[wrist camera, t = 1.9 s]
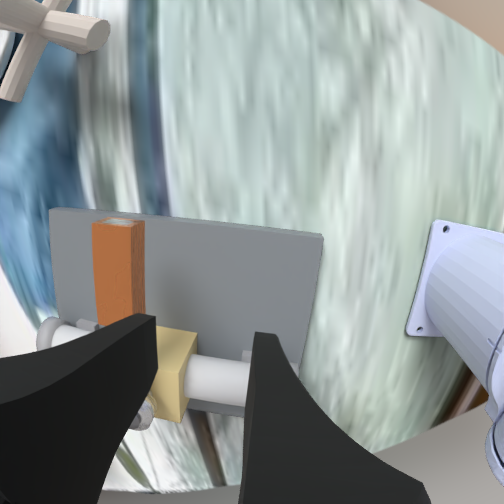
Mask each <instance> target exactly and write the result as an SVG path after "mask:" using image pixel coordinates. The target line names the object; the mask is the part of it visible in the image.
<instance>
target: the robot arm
mask: <svg viewBox="0 0 504 504" xmlns="http://www.w3.org/2000/svg"><path fill="white" fill-rule="evenodd" d="M444 226H447V230H446V231H445V232H443V228H444ZM418 327H421V328H420V330H418V331H417V328H418ZM406 332H407V333H408V334H409V335H411V336H433V337H445V338H446V339H447V341H448V342H449V343H450V344H451V346H452V347H453V348H454V349H455V351H456V352H457V353H458V354H459V356H460V357H461V358H462V359H463V361H464V362H465V363H466V364H467V366H468V367H469V368H470V370H471V371H472V372H473V374H474V375H475V376H476V378H477V379H478V380H479V381H480V383H481V384H482V386H483V387H484V388H485V390H486V391H487V392H488V394H489V399H488V402H487V404H486V406H485V411H486V412H487V414H488V415H489V417H490V418H491V420H492V421H493V423H494V424H493V425H492V427H491V428H490V430H489V432H488V434H487V437H486V442H485V452H486V458H487V461H488V464H489V467H490V468H491V470H492V472H493V474H494V476H495V477H496V478H497V480H498V481H499V482H500V483H501V485H502V486H503V487H504V233H500V232H496V231H491V230H487V229H482V228H478V227H473V226H468V225H464V224H459V223H454V222H449V221H444V220H435V221H434V222H433V223H432V226H431V230H430V235H429V240H428V245H427V250H426V254H425V259H424V263H423V267H422V271H421V275H420V279H419V283H418V287H417V291H416V295H415V298H414V302H413V305H412V309H411V312H410V315H409V319H408V322H407V325H406ZM157 371H158V354H157V334H156V316H152V315H147V314H142V313H136V314H133V315H130V316H128V317H126V318H123V319H121V320H119V321H116V322H114V323H112V324H110V325H107V326H105V327H103V328H101V329H98V330H96V331H94V332H91V333H89V334H87V335H84V336H81V337H79V338H76V339H74V340H71V341H68V342H66V343H63V344H60V345H57V346H54V347H51V348H47V349H44V350H40V351H36V352H32V353H28V354H22V355H17V356H11V357H5V358H0V504H97V502H98V499H99V496H100V493H101V490H102V487H103V484H104V481H105V478H106V476H107V473H108V470H109V468H110V465H111V463H112V460H113V458H114V455H115V453H116V451H117V449H118V447H119V445H120V443H121V441H122V439H123V437H124V436H125V434H126V432H127V430H128V429H129V427H130V425H131V423H132V422H133V420H134V418H135V416H136V415H137V413H138V411H139V409H140V408H141V406H142V404H143V402H144V401H145V399H146V397H147V395H148V393H149V391H150V389H151V386H152V384H153V381H154V379H155V376H156V373H157ZM238 504H431V501H430V498H429V496H428V494H427V492H426V490H425V487H424V485H423V483H422V482H420V481H418V480H416V479H414V478H412V477H410V476H408V475H406V474H404V473H403V472H401V471H399V470H397V469H395V468H393V467H392V466H390V465H388V464H386V463H385V462H383V461H382V460H380V459H379V458H377V457H376V456H374V455H373V454H371V453H370V452H368V451H367V450H366V449H364V448H363V447H362V446H360V445H359V444H358V443H356V442H355V441H354V440H353V439H352V438H350V437H349V436H348V435H347V434H346V433H345V432H344V431H342V430H341V429H340V428H339V427H338V426H337V425H336V424H335V423H334V422H333V421H332V420H331V419H330V418H329V417H328V416H327V415H326V414H325V413H324V412H323V411H322V409H321V408H320V407H319V406H318V405H317V403H316V402H315V401H314V400H313V398H312V397H311V396H310V394H309V393H308V392H307V390H306V389H305V387H304V386H303V384H302V383H301V381H300V380H299V378H298V377H297V375H296V373H295V372H294V370H293V368H292V366H291V365H290V363H289V361H288V359H287V357H286V355H285V353H284V351H283V349H282V346H281V344H280V341H279V338H278V336H277V335H276V334H272V333H264V332H256V331H255V334H254V340H253V347H252V355H251V363H250V371H249V379H248V387H247V395H246V403H245V412H244V440H243V469H242V481H241V488H240V495H239V501H238Z"/></svg>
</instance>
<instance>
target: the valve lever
mask: <svg viewBox="0 0 504 504" xmlns="http://www.w3.org/2000/svg"><path fill="white" fill-rule="evenodd" d="M92 255H93V273H94V287H95V298H96V308H97V317H98V324H100V325H104V326H107V325H110V324H112V323H114V322H116V321H119V320H121V319H123V318H126V317H128V316H130V315H133V314H136V313H142V314H146V307H145V221H144V220H134V219H124V218H114V217H107V218H104V219H101V220H99V221H96V222H93V223H92ZM156 412H157V403H156V401H155V399H154V398H153V396H152V395H151V394H150V393H148V395H147V397H146V399H145V401H144V402H143V404H142V406H141V408H140V409H139V411H138V413H137V415H136V416H135V418H134V420H133V422H132V423H131V425H130V427H129V429H133V430H138V431H141V430H146V429H147V428H149V426H150V424H151V422H152V420H153V418H154V416H155V414H156Z"/></svg>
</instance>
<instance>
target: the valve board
mask: <svg viewBox="0 0 504 504" xmlns="http://www.w3.org/2000/svg"><path fill="white" fill-rule="evenodd" d="M107 217H114V218H124V219H134V220H144V221H145V307H146V314H147V315H152V316H156V334H157V354H158V371H157V373H156V376H155V379H154V381H153V384H152V386H151V389H150V391H149V393H150V394H151V395H152V396H153V398H154V399H155V401H156V403H157V412H156V414H155V416H154V417H156V418H160V419H164V420H168V421H173V422H177V423H181V420H182V418H183V415H184V412H185V410H186V408H190V409H195V410H200V411H206V412H211V413H217V414H224V415H230V416H237V417H244V412H245V403H246V395H247V387H248V379H249V371H250V363H251V355H252V347H253V340H254V334H255V331H256V332H264V333H272V334H276V335H277V336H278V338H279V341H280V344H281V346H282V349H283V351H284V353H285V355H286V357H287V359H288V361H289V363H290V365H291V366H292V368H293V370H294V372H295V373H296V375H297V377H298V373H299V368H300V364H301V359H302V355H303V350H304V345H305V340H306V336H307V331H308V326H309V321H310V315H311V310H312V305H313V300H314V294H315V289H316V283H317V277H318V272H319V266H320V260H321V254H322V247H323V241H324V238H323V236H322V234H319V233H311V232H303V231H295V230H287V229H279V228H270V227H262V226H253V225H244V224H236V223H226V222H217V221H208V220H198V219H189V218H179V217H169V216H159V215H148V214H137V213H126V212H115V211H104V210H92V209H79V208H66V207H57V208H53V209H49V228H50V245H51V259H52V269H53V279H54V287H55V295H56V302H57V309H58V315H59V318H56V317H48V318H47V319H45V320H44V321H43V323H42V324H41V326H40V328H39V330H38V333H37V339H36V346H37V351H40V350H44V349H47V348H51V347H54V346H57V345H60V344H63V343H66V342H68V341H71V340H74V339H76V338H79V337H81V336H84V335H87V334H89V333H91V332H94V331H96V330H98V329H101V328H103V327H105V326H104V325H100V324H98V317H97V308H96V298H95V287H94V273H93V255H92V223H93V222H96V221H99V220H101V219H104V218H107Z"/></svg>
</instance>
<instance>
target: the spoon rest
mask: <svg viewBox="0 0 504 504" xmlns="http://www.w3.org/2000/svg"><path fill="white" fill-rule="evenodd" d="M14 40H15V32H11V31H5V30H0V79H1V77H2V75H3V73H4V71H5V69H6V66H7V64H8V61H9V58H10V56H11V52H12V49H13V44H14Z"/></svg>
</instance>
